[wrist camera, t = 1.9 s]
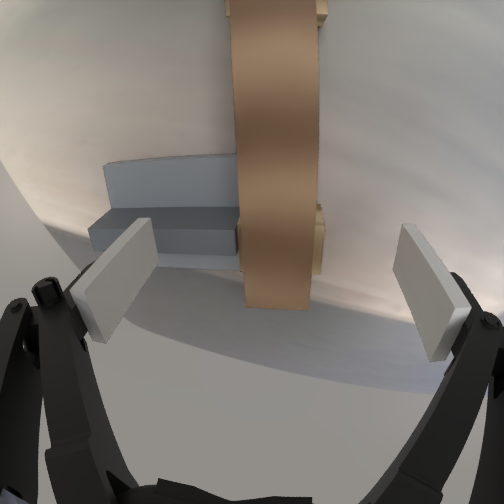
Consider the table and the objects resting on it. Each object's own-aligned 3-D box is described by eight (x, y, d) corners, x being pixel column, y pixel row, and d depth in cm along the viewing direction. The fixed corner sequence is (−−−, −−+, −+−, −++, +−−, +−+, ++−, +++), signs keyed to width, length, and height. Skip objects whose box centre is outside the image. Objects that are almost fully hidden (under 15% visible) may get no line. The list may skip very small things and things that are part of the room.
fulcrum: (108, 163, 24) (75, 181, 20) (243, 153, 22) (230, 171, 18) (130, 259, 29) (107, 289, 25) (248, 264, 27) (239, 300, 23)
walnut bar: (239, -38, 12) (227, -63, 8) (306, -40, 11) (309, -66, 8) (253, 272, 23) (245, 307, 20) (306, 274, 22) (308, 310, 19)
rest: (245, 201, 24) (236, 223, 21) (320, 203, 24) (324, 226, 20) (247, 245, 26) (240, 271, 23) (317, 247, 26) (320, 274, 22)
